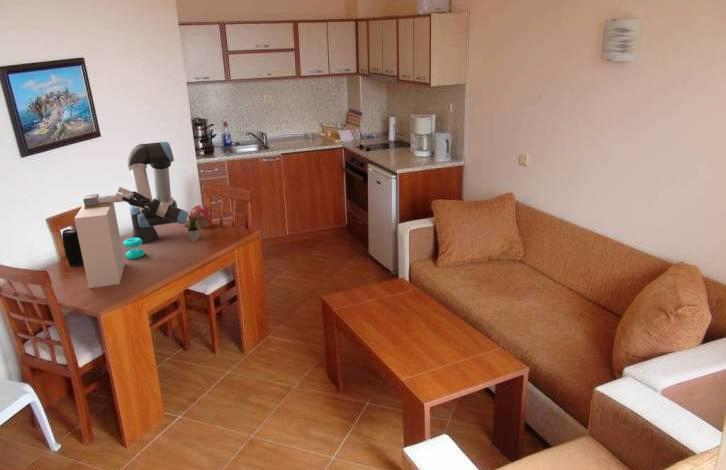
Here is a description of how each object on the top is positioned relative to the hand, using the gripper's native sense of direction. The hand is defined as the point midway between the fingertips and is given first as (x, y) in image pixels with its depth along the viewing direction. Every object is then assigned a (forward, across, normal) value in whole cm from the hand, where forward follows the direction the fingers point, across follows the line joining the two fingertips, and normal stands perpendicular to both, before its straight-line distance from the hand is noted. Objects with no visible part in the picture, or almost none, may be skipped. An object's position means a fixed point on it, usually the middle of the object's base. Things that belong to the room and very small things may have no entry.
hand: (117, 192), depth 288 cm
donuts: (-22, -18, +36) cm, 45 cm away
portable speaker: (+4, -17, +51) cm, 54 cm away
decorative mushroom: (-55, -59, +17) cm, 82 cm away
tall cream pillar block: (-12, +8, +41) cm, 44 cm away
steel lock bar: (+1, 0, +6) cm, 6 cm away
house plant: (-51, -35, +19) cm, 65 cm away
